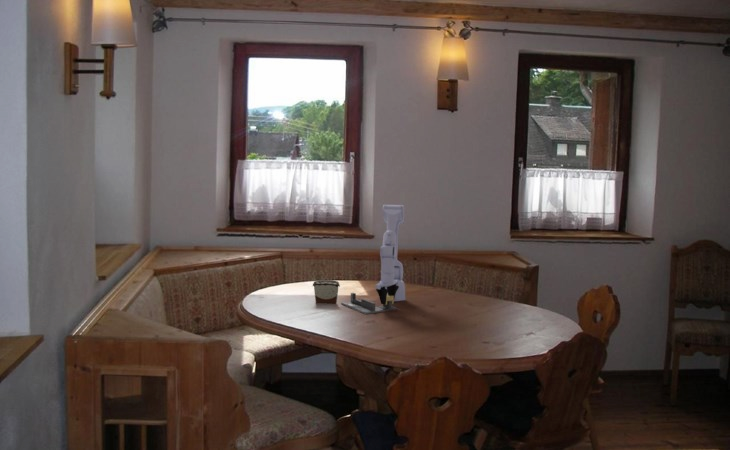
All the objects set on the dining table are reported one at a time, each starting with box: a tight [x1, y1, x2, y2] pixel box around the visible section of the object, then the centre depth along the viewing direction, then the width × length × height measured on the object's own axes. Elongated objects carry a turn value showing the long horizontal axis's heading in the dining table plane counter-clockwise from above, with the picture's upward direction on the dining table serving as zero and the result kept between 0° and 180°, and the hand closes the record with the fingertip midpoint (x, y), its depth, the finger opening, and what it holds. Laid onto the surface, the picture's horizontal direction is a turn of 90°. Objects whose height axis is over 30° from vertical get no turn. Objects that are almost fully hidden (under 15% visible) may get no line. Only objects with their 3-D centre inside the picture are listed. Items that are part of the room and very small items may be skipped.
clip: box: [385, 294, 395, 305], centre depth 339 cm, size 4×4×4 cm
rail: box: [340, 292, 386, 315], centre depth 341 cm, size 10×21×5 cm, turn 31°
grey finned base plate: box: [377, 301, 398, 312], centre depth 340 cm, size 6×7×4 cm
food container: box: [312, 279, 341, 306], centre depth 350 cm, size 12×6×10 cm, turn 84°
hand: (387, 302), depth 340 cm, fingers closed on clip, 5 cm apart
